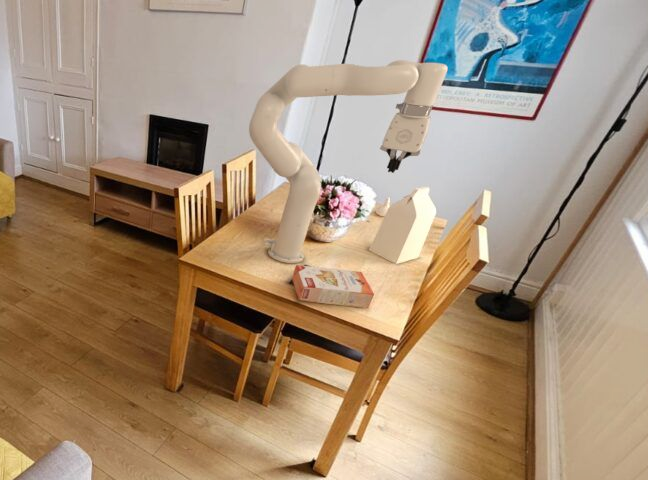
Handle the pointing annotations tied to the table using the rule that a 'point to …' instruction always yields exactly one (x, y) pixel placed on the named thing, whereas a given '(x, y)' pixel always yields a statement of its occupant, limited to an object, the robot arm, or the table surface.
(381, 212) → the garlic bulb
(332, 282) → the cracker box
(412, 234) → the milk
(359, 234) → the table surface
